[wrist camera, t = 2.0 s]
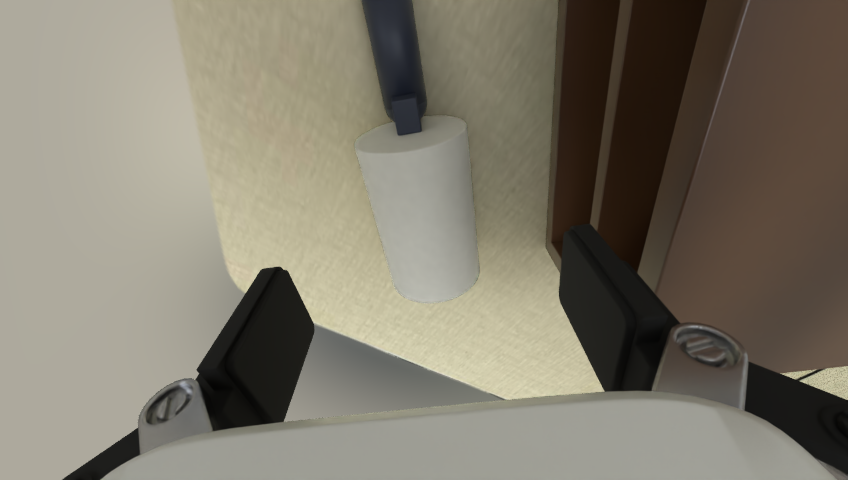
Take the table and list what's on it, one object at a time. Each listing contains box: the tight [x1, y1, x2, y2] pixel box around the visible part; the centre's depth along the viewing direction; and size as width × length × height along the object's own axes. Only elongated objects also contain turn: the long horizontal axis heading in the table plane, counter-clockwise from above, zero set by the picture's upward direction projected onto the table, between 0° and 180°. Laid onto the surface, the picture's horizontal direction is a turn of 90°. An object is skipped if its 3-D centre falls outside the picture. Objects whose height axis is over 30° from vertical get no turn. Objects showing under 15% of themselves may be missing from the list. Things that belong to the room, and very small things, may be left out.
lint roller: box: [354, 0, 480, 303], centre depth 17 cm, size 16×6×6 cm, turn 9°
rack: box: [546, 0, 848, 373], centre depth 14 cm, size 12×18×11 cm, turn 9°
